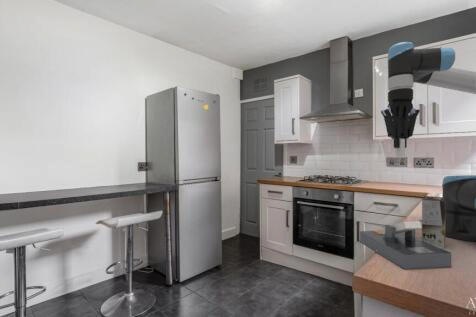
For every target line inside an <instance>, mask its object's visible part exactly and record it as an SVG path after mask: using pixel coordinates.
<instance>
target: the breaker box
mask: <svg viewBox="0 0 476 317" xmlns="http://www.w3.org/2000/svg"><path fill="white" fill-rule="evenodd" d="M384 227H385V235H383V234H382V231H381V230H378V229H377V230H362V231H361V230H360V231H359V243H360V244H362V245H364V246H366V248H368V249H370V250H371V251H374V252H375V253H376V254H378V255H380V256H381V257H384V258H385V259H386V260H388V261H390V262H391V263H393V264H395V265H396V266H398V267H399V268H401V269H403V270H419V269H422V270H423V269H435V268H437V269H441V268H452V252H450V251H446V250H447V249H445V248H442V249H441V248H439V247H436V246H434V245H432V244H429V243H427V242H424V241H422V239H421V238H418V237H416V229H415V230H411V231H407V232H403V233H399V234H395V227H393V226H391V225H390V224H385V225H384ZM415 237H416V238H415ZM417 238H418V239H417ZM420 239H421V240H420ZM444 249H445V250H444ZM376 250H377V251H376Z"/></svg>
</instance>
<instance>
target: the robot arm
mask: <svg viewBox="0 0 476 317" xmlns="http://www.w3.org/2000/svg"><path fill="white" fill-rule="evenodd" d="M455 61H456V52H455V50H454V49H453V48H452V47H442V46H441V47H431V48H415V46H414V43H413V42H409V41H403V42H398V43H395V44H393V45H392V46H390V48H389V49H388V53H387V90H388V92H387V102H388V105H387V108H385V109H383V110H381V111H380V113H381V115H382V117H383V120H384V125H385V129H386V133H387V137H389V138H391V139H392V140H393V148H394V149H395V150H394V152H395V155H394V156H395V158H396V159H397V158H400V159H404V158H406V148H407V142H408V141H407V140H408V139H409V138H411V137H413V135H414V131H415V126H416V120H417V119H418V118H417V117H418V115H419V114H420V109H416V108H414V104H413V99H414V89H413V87H414V83H417V84H421V85H428V86H433V87H438V88H443V89H449V90H452V91H453V90H454V91H458V92H462V93H468V94H473V95H476V71H474V70H473V71H472V70H469V69H467V70H466V69H461V68H456V67H453V65H454V64H455ZM441 184H442V185H441V186H442V197H444V198H445V206H446V207H445V237H448V238H452V239H456V240H461V241H469V242H476V174H475V175H472V174H471V175H469V174H468V175H467V174H466V175H465V174H464V175H463V174H462V175H461V174H460V175H446V176H444V177H443V178H442V183H441Z"/></svg>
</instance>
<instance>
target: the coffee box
mask: <svg viewBox="0 0 476 317" xmlns="http://www.w3.org/2000/svg"><path fill="white" fill-rule="evenodd" d="M421 200H422V201H421V204H422V205H421V226H422V228H421V240H423V241H425V242H428V243H430V244H433V245H435V246H438V247H440V248H442V249H445V244H446V236H445V207H446V206H445V198H444V197H443V196H429V195H427V196H426V195H425V196H423V197H422V199H421Z"/></svg>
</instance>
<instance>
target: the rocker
mask: <svg viewBox="0 0 476 317" xmlns="http://www.w3.org/2000/svg"><path fill="white" fill-rule="evenodd" d="M390 226H393V227H395V234H399V233H405V232H407V231H411V230H415V231H416V230H419V229H422V222H421V221H419V220H415V221H402V222H399V223H398V222H397V223H395V224H392V225H390ZM380 229H381V231H382V234H383V235H385V226H383V227H380Z"/></svg>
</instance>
